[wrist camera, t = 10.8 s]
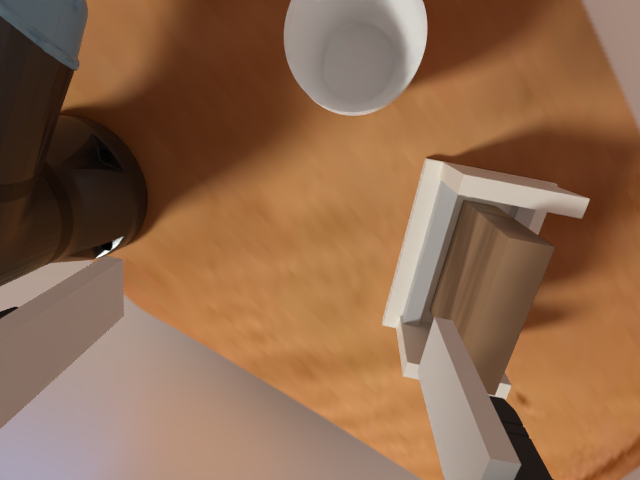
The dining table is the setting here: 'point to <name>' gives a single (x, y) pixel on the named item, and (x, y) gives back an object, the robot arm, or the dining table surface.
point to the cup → (354, 50)
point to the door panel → (490, 285)
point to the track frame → (436, 233)
